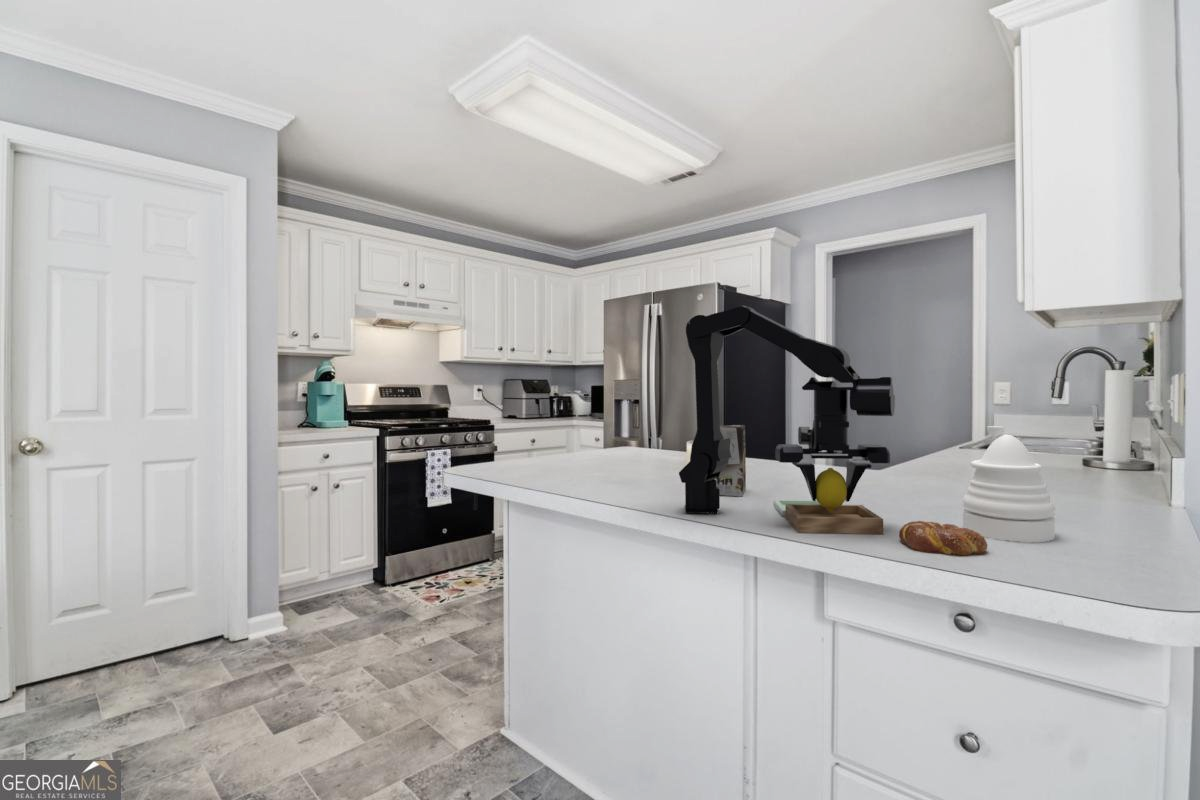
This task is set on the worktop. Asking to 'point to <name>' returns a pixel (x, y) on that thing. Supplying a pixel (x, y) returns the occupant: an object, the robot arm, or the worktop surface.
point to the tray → (833, 519)
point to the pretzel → (942, 538)
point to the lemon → (830, 489)
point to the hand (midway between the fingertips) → (830, 501)
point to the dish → (781, 504)
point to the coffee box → (733, 462)
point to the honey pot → (1008, 494)
